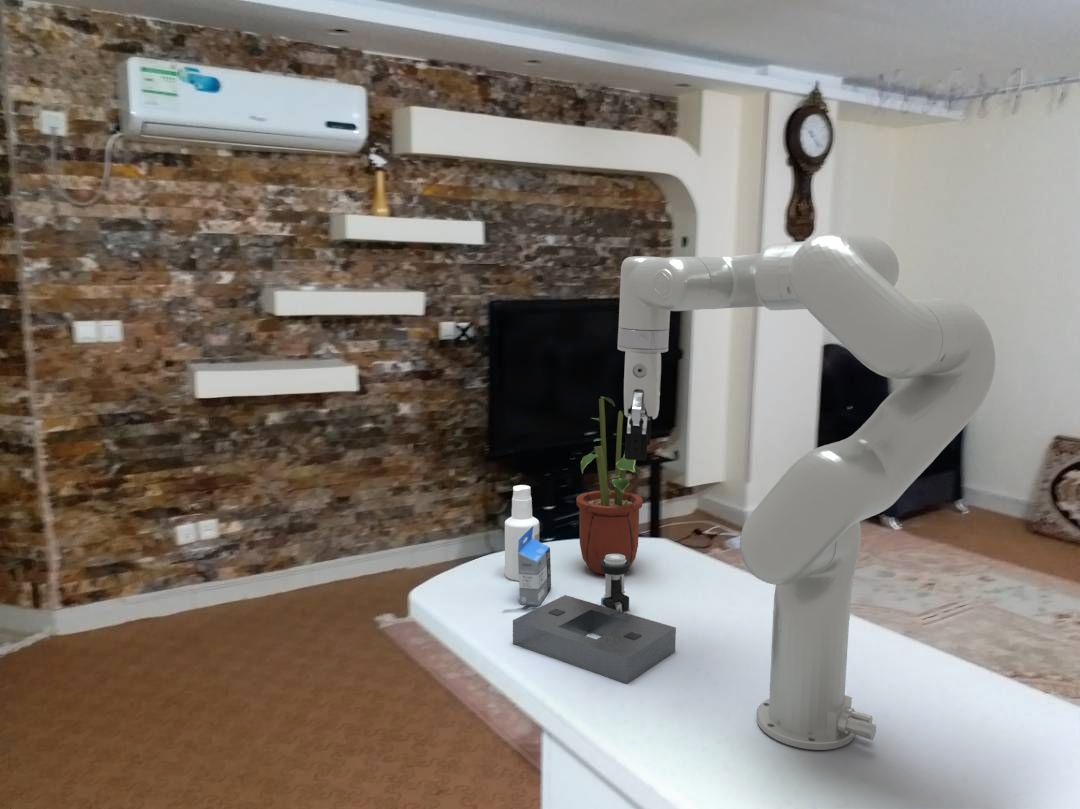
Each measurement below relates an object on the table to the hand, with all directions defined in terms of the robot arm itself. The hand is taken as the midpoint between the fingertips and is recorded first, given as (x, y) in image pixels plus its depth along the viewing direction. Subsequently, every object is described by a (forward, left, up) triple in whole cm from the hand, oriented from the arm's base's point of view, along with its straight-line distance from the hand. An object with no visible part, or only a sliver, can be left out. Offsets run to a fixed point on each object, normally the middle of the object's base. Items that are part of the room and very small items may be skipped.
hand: (637, 451), depth 133 cm
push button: (+12, -11, -33) cm, 37 cm away
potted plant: (+22, -29, -33) cm, 49 cm away
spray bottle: (+36, -15, -33) cm, 51 cm away
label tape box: (+27, -8, -33) cm, 43 cm away
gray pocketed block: (+6, +3, -33) cm, 33 cm away
